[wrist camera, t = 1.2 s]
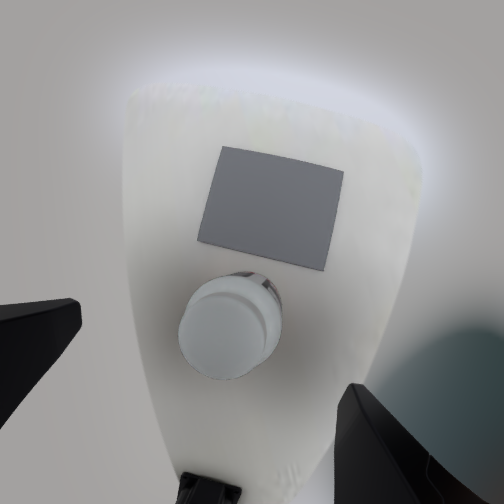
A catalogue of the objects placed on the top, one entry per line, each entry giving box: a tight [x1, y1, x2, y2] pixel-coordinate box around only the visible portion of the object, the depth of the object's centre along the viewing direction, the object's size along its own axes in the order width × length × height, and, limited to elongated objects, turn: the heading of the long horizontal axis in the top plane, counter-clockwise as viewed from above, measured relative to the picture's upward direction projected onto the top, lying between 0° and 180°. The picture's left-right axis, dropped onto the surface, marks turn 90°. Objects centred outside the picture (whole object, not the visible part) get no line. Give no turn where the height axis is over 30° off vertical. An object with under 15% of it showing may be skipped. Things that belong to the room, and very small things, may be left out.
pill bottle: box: [178, 272, 282, 380], centre depth 17 cm, size 5×5×10 cm
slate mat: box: [197, 146, 344, 271], centre depth 21 cm, size 8×10×1 cm
